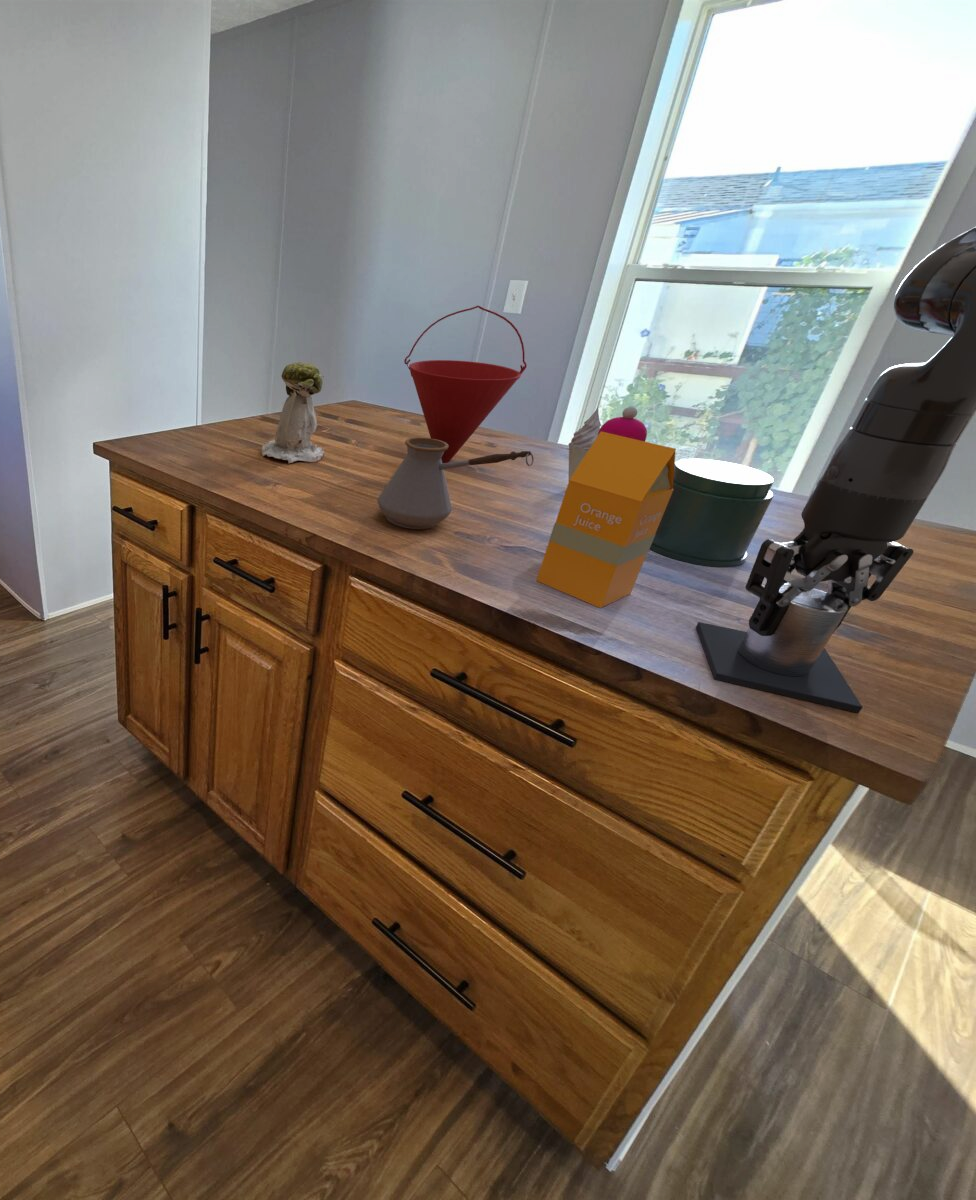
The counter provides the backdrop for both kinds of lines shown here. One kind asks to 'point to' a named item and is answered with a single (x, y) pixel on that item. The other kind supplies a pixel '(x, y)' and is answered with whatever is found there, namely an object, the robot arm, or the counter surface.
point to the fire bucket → (459, 393)
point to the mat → (815, 686)
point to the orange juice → (608, 519)
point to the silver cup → (796, 634)
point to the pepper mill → (626, 425)
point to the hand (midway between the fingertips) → (789, 631)
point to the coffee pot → (426, 484)
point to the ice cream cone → (583, 441)
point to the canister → (712, 512)
